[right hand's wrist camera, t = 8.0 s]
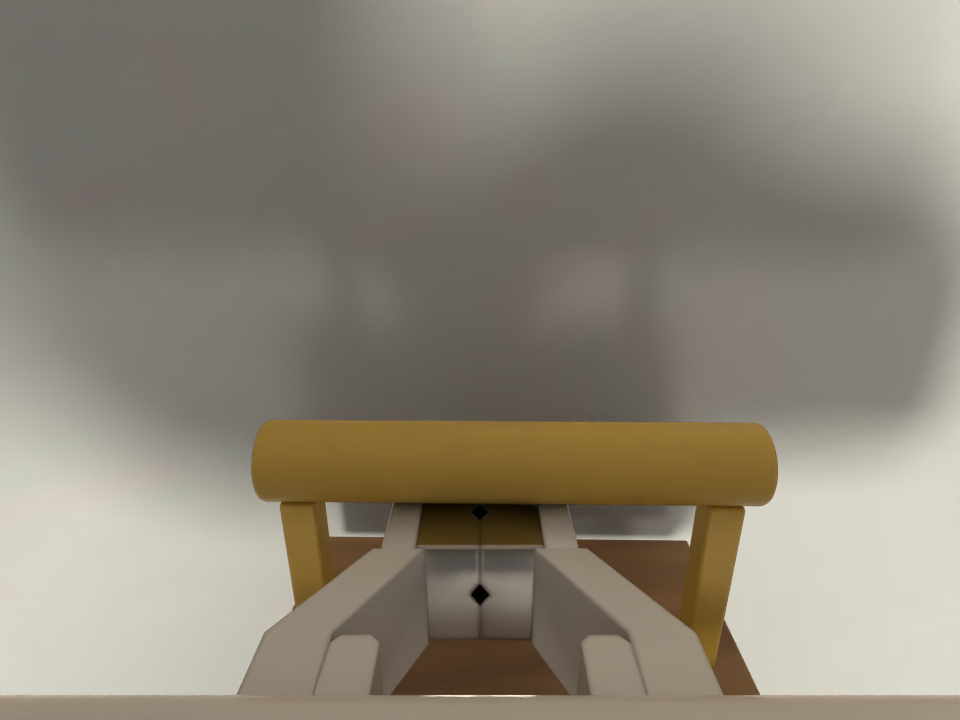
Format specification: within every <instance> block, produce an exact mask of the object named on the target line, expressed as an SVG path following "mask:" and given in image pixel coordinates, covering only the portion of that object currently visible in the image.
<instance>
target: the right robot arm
mask: <svg viewBox="0 0 960 720" xmlns="http://www.w3.org/2000/svg"><path fill="white" fill-rule="evenodd" d="M474 639H485V640H520V641H532V642H531V643H532V645H533V646H534V647H535V649H536V650H537V651H538V653H539V654H540V655H541V657H542V658H543V659H544V661H545V662H546V663H547V665H548V666H549V667H550V669H551V670H552V671H553V673H554V674H555V675H556V677H557V678H558V680H559V681H560V682H561V684H562V685H563V686H564V688H565V689H566V690H567V692H568V693H569V694H570V695H391V693H392V692H393V691H394V689H395V688H396V687H397V685H398V684H399V683H400V681H401V680H402V679H403V677H404V676H405V675H406V673H407V672H408V671H409V669H410V668H411V667H412V665H413V664H414V663H415V661H416V660H417V659H418V657H419V656H420V655H421V653H422V652H423V651H424V649H425V648H426V647H427V645H428V644H429V641H439V640H474ZM0 720H960V695H723V693H722V690H721V688H720V686H719V684H718V681H717V679H716V677H715V675H714V672H713V670H712V668H711V666H710V663H709V661H708V659H707V657H706V654H705V652H704V650H703V648H702V645H701V643H700V641H699V639H698V636H697V634H696V633H695V632H694V631H693V630H691V629H690V628H689V627H687V626H686V625H685V624H684V623H682V622H681V621H680V620H678V619H677V618H676V617H675V616H673V615H672V614H671V613H669V612H668V611H667V610H666V609H664V608H663V607H662V606H660V605H659V604H658V603H657V602H655V601H654V600H653V599H651V598H650V597H649V596H648V595H646V594H645V593H644V592H642V591H641V590H640V589H639V588H637V587H636V586H635V585H633V584H632V583H631V582H630V581H628V580H627V579H626V578H624V577H623V576H622V575H621V574H619V573H618V572H617V571H615V570H614V569H613V568H612V567H610V566H609V565H608V564H606V563H605V562H604V561H603V560H601V559H600V558H599V557H597V556H596V555H595V554H594V553H592V552H591V551H590V550H588V549H587V548H579V547H578V543H577V539H576V535H575V531H574V527H573V523H572V519H571V515H570V511H569V507H568V504H474V503H392V507H391V511H390V515H389V519H388V523H387V527H386V531H385V535H384V539H383V543H382V547H381V548H373V549H372V550H370V551H369V552H368V553H366V554H365V555H364V556H363V557H361V558H360V559H359V560H357V561H356V562H355V563H354V564H352V565H351V566H350V567H348V568H347V569H346V570H345V571H343V572H342V573H341V574H339V575H338V576H337V577H335V578H334V579H333V580H332V581H330V582H329V583H328V584H326V585H325V586H324V587H323V588H321V589H320V590H319V591H317V592H316V593H315V594H313V595H312V596H311V597H310V598H308V599H307V600H306V601H304V602H303V603H302V604H301V605H299V606H298V607H297V608H295V609H294V610H293V611H291V612H290V613H289V614H288V615H286V616H285V617H284V618H282V619H281V620H280V621H279V622H277V623H276V624H275V625H273V626H272V627H271V628H269V629H268V630H267V631H266V632H265V633H264V635H263V637H262V639H261V641H260V644H259V646H258V648H257V650H256V653H255V655H254V657H253V659H252V661H251V664H250V666H249V668H248V670H247V673H246V675H245V677H244V679H243V681H242V684H241V686H240V688H239V690H238V693H237V695H0Z"/></svg>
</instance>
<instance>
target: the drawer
mask: <svg viewBox="0 0 960 720" xmlns="http://www.w3.org/2000/svg"><path fill="white" fill-rule="evenodd" d="M251 472H252V482H253V486H254V490H255V492H256V494H257V496H258V497H259V498H260V499H261V500H263V501H266V502H281V504H280V511H281V517H282V523H283V530H284V536H285V542H286V549H287V555H288V562H289V568H290V574H291V581H292V587H293V593H294V600H295V605H294V607H293V610H294V609H295V608H297V607H298V606H299V605H301V604H302V603H303V602H304V601H306V600H307V599H308V598H310V597H311V596H312V595H313V594H315V593H316V592H317V591H319V590H320V589H321V588H323V587H324V586H325V585H326V584H328V583H329V582H330V581H332V580H333V579H334V578H335V577H337V576H338V575H339V574H341V573H342V572H343V571H345V570H346V569H347V568H348V567H350V566H351V565H352V564H354V563H355V562H356V561H357V560H359V559H360V558H361V557H363V556H364V555H365V554H366V553H368V552H369V551H370V550H372V549H373V548H381V547H382V543H383V539H384V537H329V531H328V523H327V515H326V507H325V502H370V503H474V504H579V505H683V506H696V512H695V518H694V524H693V531H692V537H691V543H690V547H689V545H688V543H687V541H675V540H583V539H577V543H578V547H579V548H587V549H588V550H590V551H591V552H592V553H594V554H595V555H596V556H597V557H599V558H600V559H601V560H603V561H604V562H605V563H606V564H608V565H609V566H610V567H612V568H613V569H614V570H615V571H617V572H618V573H619V574H621V575H622V576H623V577H624V578H626V579H627V580H628V581H630V582H631V583H632V584H633V585H635V586H636V587H637V588H639V589H640V590H641V591H642V592H644V593H645V594H646V595H648V596H649V597H650V598H651V599H653V600H654V601H655V602H657V603H658V604H659V605H660V606H662V607H663V608H664V609H666V610H667V611H668V612H669V613H671V614H672V615H673V616H675V617H676V618H677V619H678V620H680V621H681V622H682V623H684V624H685V625H686V626H687V627H689V628H690V629H691V630H693V631H694V632H695V633H696V634H697V636H698V639H699V641H700V643H701V645H702V648H703V650H704V652H705V654H706V657H707V659H708V661H709V663H710V666H711V668H712V670H713V672H714V675H715V677H716V679H717V681H718V684H719V686H720V688H721V690H722V693H723V695H760V693H759V691H758V689H757V687H756V685H755V683H754V681H753V679H752V677H751V674H750V672H749V670H748V668H747V666H746V664H745V662H744V660H743V658H742V656H741V654H740V651H739V649H738V647H737V645H736V643H735V641H734V639H733V637H732V635H731V633H730V631H729V628H728V626H727V624H726V622H725V620H724V616H725V611H726V606H727V601H728V596H729V591H730V586H731V581H732V576H733V571H734V565H735V560H736V555H737V550H738V545H739V540H740V535H741V530H742V525H743V520H744V515H745V509H744V507H743V506H763V505H765V504H767V503H768V502H770V500H771V499H772V497H773V495H774V493H775V490H776V486H777V479H778V464H777V456H776V451H775V447H774V444H773V441H772V439H771V437H770V435H769V433H768V432H767V430H766V429H765V428H764V427H763V426H761V425H759V424H757V423H711V422H555V421H399V420H269V421H267V422H265V423H264V424H263V425H262V427H261V428H260V430H259V432H258V434H257V437H256V439H255V443H254V447H253V453H252V464H251ZM293 610H292V611H293ZM531 642H532V641H520V640H485V639H474V640H439V641H429V644H428V645H427V647H426V648H425V649H424V651H423V652H422V653H421V655H420V656H419V657H418V659H417V660H416V661H415V663H414V664H413V665H412V667H411V668H410V669H409V671H408V672H407V673H406V675H405V676H404V677H403V679H402V680H401V681H400V683H399V684H398V685H397V687H396V688H395V689H394V691H393V692H392V693H391V695H570V694H569V693H568V692H567V690H566V689H565V688H564V686H563V685H562V684H561V682H560V681H559V680H558V678H557V677H556V675H555V674H554V673H553V671H552V670H551V669H550V667H549V666H548V665H547V663H546V662H545V661H544V659H543V658H542V657H541V655H540V654H539V653H538V651H537V650H536V649H535V647H534V646H533V645H532V643H531Z"/></svg>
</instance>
